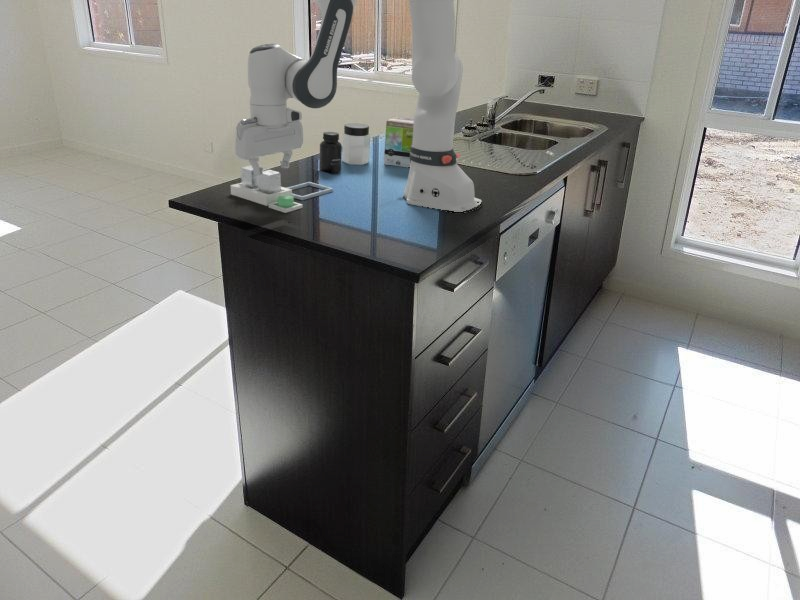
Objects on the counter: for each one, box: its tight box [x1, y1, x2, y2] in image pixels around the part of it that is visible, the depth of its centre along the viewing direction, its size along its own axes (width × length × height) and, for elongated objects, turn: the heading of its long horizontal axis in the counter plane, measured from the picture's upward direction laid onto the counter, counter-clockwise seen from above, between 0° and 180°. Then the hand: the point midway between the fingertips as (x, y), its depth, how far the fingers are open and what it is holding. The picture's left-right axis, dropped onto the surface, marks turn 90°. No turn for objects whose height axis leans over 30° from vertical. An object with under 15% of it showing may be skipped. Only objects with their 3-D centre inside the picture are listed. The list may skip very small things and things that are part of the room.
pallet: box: [229, 182, 293, 207], centre depth 165 cm, size 14×9×4 cm, turn 54°
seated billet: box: [240, 164, 264, 189], centre depth 166 cm, size 4×4×7 cm
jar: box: [341, 122, 371, 166], centre depth 208 cm, size 9×8×12 cm
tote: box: [286, 181, 334, 201], centre depth 172 cm, size 9×12×2 cm
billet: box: [258, 169, 282, 195], centre depth 163 cm, size 4×4×7 cm
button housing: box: [268, 201, 304, 214], centre depth 159 cm, size 6×6×2 cm
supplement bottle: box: [318, 131, 343, 175], centre depth 194 cm, size 7×7×12 cm
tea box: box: [383, 115, 414, 168], centre depth 208 cm, size 15×10×15 cm, turn 76°
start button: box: [277, 196, 295, 208], centre depth 158 cm, size 4×4×3 cm
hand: (271, 171), depth 160 cm, fingers open, 8 cm apart
